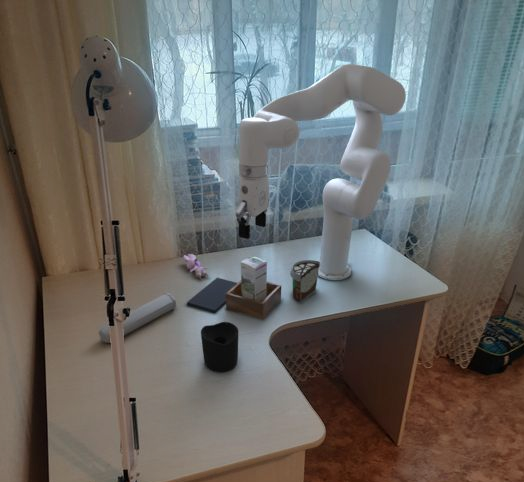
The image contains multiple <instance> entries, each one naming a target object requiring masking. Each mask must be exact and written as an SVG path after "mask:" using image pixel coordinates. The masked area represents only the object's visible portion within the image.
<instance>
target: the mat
mask: <svg viewBox="0 0 524 482" xmlns="http://www.w3.org/2000/svg"><path fill="white" fill-rule="evenodd" d="M237 283H238V282H236V281H231V280H229V279H224V278H221V277H216V278H215V279H213V280H212V281H211V282H210V283H209V284H208V285H206V286H205V287H204V288H203V289H201V290H200V291H198V293H196V294H194V296H193V297H191V298H190V299H189V300H188V301H187V302H186V305H187V306H190V307H194V308H196V309H199V310H203V311H206V312H210V313H213V314H216V313H217V312H218V311H219V310H220V309H221V308H222V307H223V306H225V305H226V293H227V292H228V291H229V290H230V289H231V288H233V287H234V286H235V285H236V284H237Z"/></svg>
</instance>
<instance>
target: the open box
mask: <svg viewBox="0 0 524 482" xmlns="http://www.w3.org/2000/svg"><path fill="white" fill-rule="evenodd" d="M236 283H237V284H236V285H235V286H234V287H233V288H231V289H230V290H229V291H228V292H227V293H226V304H225V309H226V310H228V311H232V312H236V313H238V314H242V315H246V316H249V317H251V318H252V317H253V318H255V319H260V320H264V319H265V318H266V317H267V316H268V315H269V314H270V312H271V311H273V309H274V308H275V307H276V306H277V305H278V304H279V302H281V300H282V284H278V283H275V282H271V281H267V283H266V299H265V300H264V301H263V302H259V301H256V300H252V299H249V298H245V297H242V295H241V280H240V281H238V282H236Z"/></svg>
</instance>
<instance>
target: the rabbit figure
mask: <svg viewBox="0 0 524 482" xmlns="http://www.w3.org/2000/svg"><path fill="white" fill-rule="evenodd" d="M182 257H183V260H184V261H185V262H186V268H187V269H188V270H189V274H191V273H192V272H195V276H196V278H198V279H199V280H200V281H201V280H203V279H202V277H204V278H206V279H208V278H209V274H208V272H207V271H206V270H207V268H208V267H206V266H202V262H200V260H199V259H198V257H197V256H196V255H195V254H193V253H188V254H184V255H183V256H182Z"/></svg>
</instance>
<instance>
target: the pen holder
mask: <svg viewBox="0 0 524 482" xmlns="http://www.w3.org/2000/svg"><path fill="white" fill-rule="evenodd" d="M200 337H201V339H200V340H201V347H202V355H203V362H204V366H205V368H207V369H208V370H210V371H211V372H214V373H226V372H230V371H232V370H233V369H234V368H235V367H236V366H237V365H238V361H239V357H238V356H239V328H238V326H237V325H235V324H234V323H232V322H229V321H221V322H218V323H215V324H209V325H204V326H203V327H202V328H201V330H200Z"/></svg>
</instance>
